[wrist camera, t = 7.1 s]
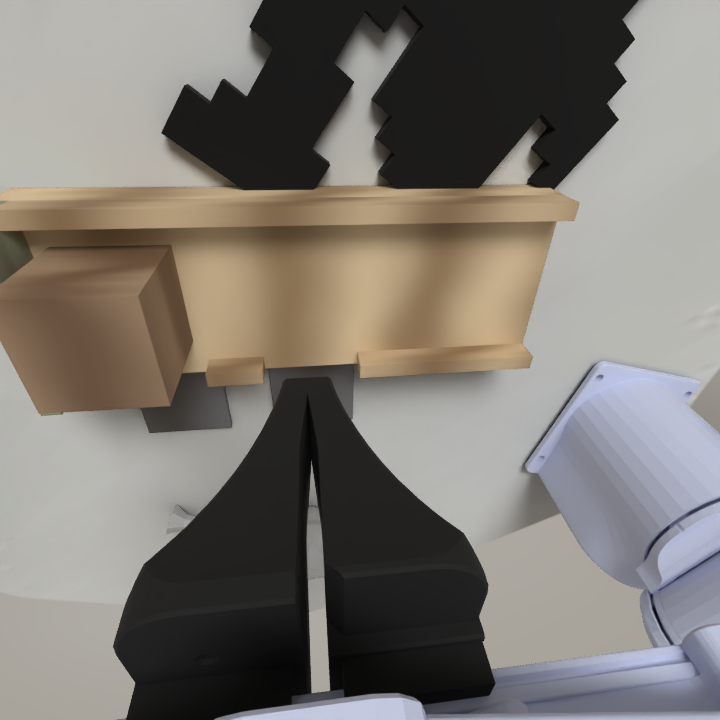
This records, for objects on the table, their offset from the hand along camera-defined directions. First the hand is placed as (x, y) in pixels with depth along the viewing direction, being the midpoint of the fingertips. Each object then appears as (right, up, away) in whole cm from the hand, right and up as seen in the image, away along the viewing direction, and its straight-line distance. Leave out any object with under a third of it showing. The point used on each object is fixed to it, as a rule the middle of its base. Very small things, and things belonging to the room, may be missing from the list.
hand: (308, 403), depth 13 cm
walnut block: (-8, +4, +5) cm, 10 cm away
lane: (-1, +3, +9) cm, 10 cm away
